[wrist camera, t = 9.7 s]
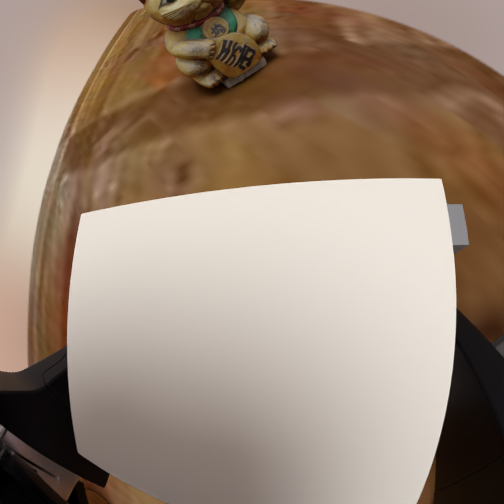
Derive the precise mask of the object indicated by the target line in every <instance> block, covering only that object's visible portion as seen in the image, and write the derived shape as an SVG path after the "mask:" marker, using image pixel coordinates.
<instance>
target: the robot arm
mask: <svg viewBox="0 0 504 504" xmlns="http://www.w3.org/2000/svg"><path fill="white" fill-rule="evenodd" d="M79 477H82V478H84V479H86V480H88V481H90V482H92V483H94V484H96V485H99V486H101V487H103V488H104V487H105V486H106V483H107V480H108V477H109V473H108V472H106V471H104V470H103V469H101V468H100V467H98V466H97V465H95V464H94V463H92V462H91V461H89V460H88V459H86V458H85V457H83V456H82V455H81V454H79V453H78V451H77V446H76V440H75V434H74V428H73V422H72V414H71V406H70V396H69V383H68V364H67V346H65V347H63V348H62V349H60V350H58V351H57V352H55V353H54V354H52V355H50V356H48V357H46V358H45V359H43V360H41V361H39V362H37V363H35V364H34V365H32V366H30V367H28V368H26V369H24V370H22V371H20V372H12V373H11V372H1V371H0V504H89V503H88V499H87V496H86V492H85V488H84V484H83V482H81V481H80V480H79ZM433 504H504V357H503V356H502V355H501V354H500V353H499V351H498V350H497V349H496V348H495V347H494V346H493V345H492V344H491V343H490V342H489V340H488V339H487V338H486V337H485V336H484V335H483V334H482V333H481V332H480V331H479V330H478V329H477V328H476V327H475V326H474V325H473V324H472V323H471V322H470V321H469V320H468V319H467V318H466V317H465V316H464V315H463V314H462V313H461V312H460V311H459V310H458V309H457V308H456V334H455V349H454V360H453V370H452V377H451V385H450V391H449V397H448V402H447V408H446V413H445V417H444V422H443V426H442V430H441V434H440V438H439V442H438V445H437V449H436V478H435V493H434V503H433Z"/></svg>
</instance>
